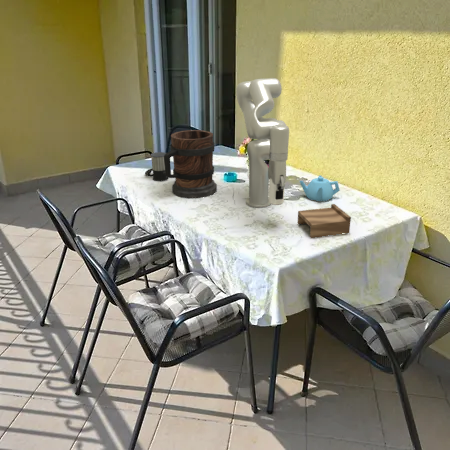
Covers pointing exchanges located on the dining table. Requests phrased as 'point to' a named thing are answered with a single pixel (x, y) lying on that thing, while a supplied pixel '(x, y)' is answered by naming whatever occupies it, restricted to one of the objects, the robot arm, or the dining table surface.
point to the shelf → (325, 221)
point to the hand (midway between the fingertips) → (276, 195)
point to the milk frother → (157, 167)
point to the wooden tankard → (191, 164)
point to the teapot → (320, 189)
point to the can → (274, 194)
